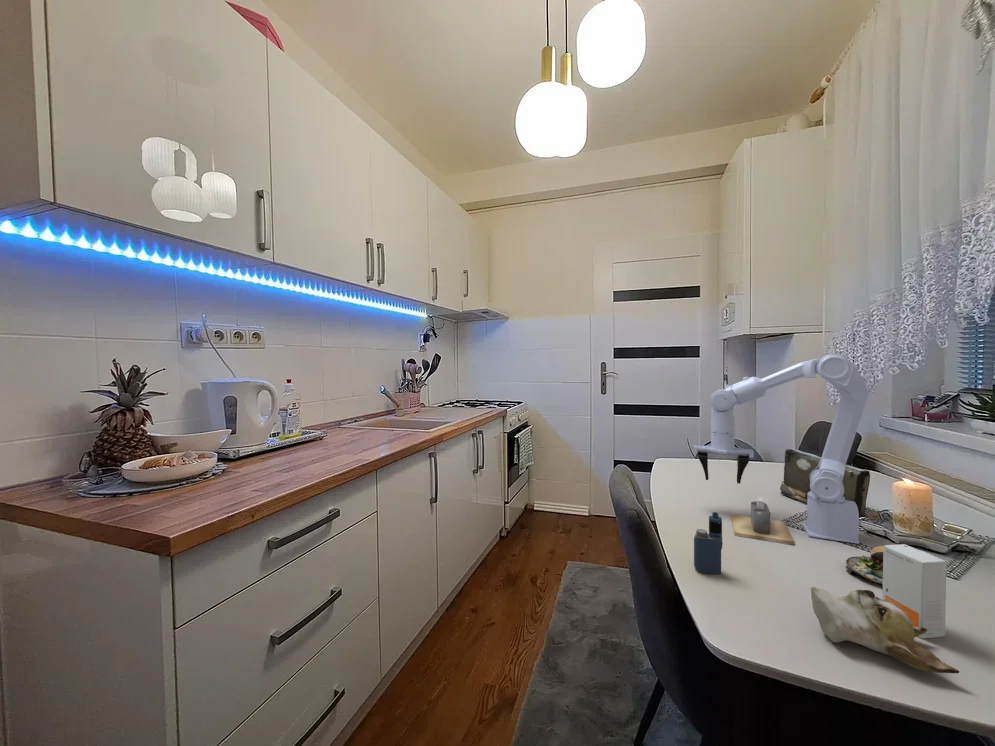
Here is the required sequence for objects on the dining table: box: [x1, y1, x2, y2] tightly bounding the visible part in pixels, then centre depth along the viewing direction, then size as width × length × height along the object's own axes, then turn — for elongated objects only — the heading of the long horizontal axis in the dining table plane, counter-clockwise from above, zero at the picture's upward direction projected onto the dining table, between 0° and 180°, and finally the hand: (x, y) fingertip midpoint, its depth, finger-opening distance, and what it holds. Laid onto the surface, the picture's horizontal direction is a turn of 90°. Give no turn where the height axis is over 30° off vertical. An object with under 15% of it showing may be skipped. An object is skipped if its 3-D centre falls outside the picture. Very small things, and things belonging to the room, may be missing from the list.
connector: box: [750, 497, 771, 534], centre depth 101 cm, size 4×10×7 cm, turn 153°
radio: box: [779, 448, 871, 518], centre depth 117 cm, size 23×9×15 cm, turn 5°
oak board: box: [730, 513, 795, 546], centre depth 101 cm, size 12×13×1 cm
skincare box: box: [881, 543, 948, 640], centre depth 64 cm, size 6×4×12 cm
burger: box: [845, 536, 884, 585], centre depth 78 cm, size 12×12×8 cm
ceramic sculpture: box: [810, 586, 960, 674], centre depth 60 cm, size 11×9×15 cm
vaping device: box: [693, 511, 724, 575], centre depth 82 cm, size 3×5×12 cm, turn 78°
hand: (722, 480), depth 112 cm, fingers open, 7 cm apart
